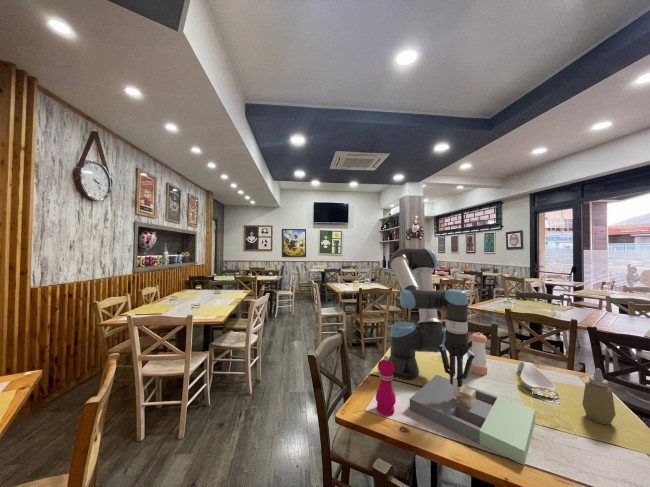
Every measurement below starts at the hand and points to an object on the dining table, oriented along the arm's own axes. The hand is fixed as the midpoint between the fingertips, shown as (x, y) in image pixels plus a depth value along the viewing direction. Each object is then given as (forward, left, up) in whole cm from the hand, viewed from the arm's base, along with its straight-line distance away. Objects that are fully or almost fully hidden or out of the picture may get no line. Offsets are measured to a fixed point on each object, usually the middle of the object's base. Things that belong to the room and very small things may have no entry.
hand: (456, 394), depth 95 cm
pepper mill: (-18, -20, -6) cm, 27 cm away
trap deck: (+5, 0, -6) cm, 7 cm away
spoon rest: (+18, +46, -6) cm, 50 cm away
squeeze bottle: (+38, +31, -6) cm, 49 cm away
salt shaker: (-2, +40, -6) cm, 41 cm away
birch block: (+3, 0, -2) cm, 4 cm away
